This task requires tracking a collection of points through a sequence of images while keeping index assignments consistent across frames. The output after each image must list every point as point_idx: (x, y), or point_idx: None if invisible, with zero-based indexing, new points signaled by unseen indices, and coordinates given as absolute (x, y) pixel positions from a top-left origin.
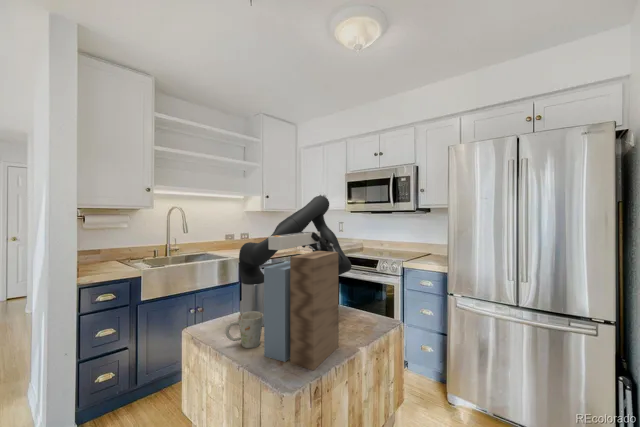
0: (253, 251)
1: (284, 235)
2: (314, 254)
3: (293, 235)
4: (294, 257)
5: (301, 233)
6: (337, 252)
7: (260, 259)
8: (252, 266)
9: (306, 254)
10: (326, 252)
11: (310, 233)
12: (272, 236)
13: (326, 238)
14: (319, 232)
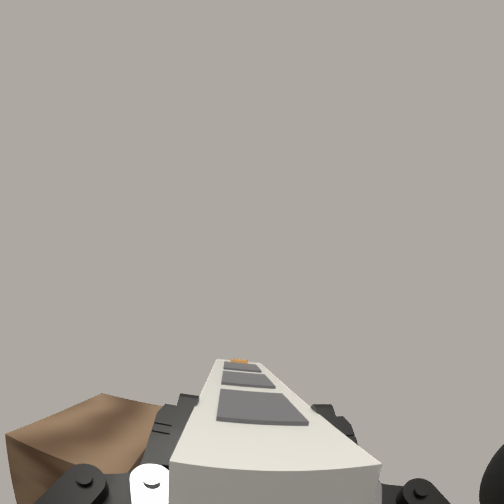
0: (494, 456)
1: (229, 362)
2: (112, 421)
3: (213, 367)
4: (160, 406)
5: (224, 378)
6: (11, 432)
7: (489, 501)
8: None
9: (142, 423)
10: (65, 439)
11: (200, 397)
12: (253, 363)
13: (56, 485)
14: (172, 460)
